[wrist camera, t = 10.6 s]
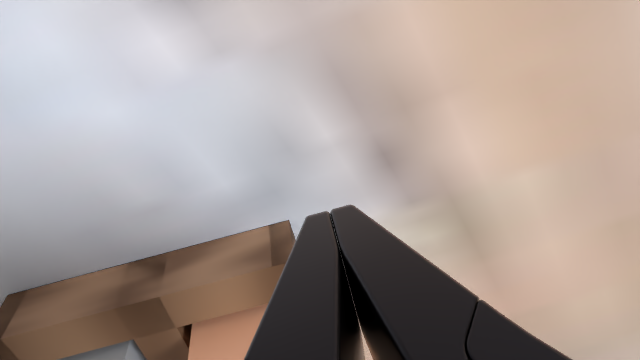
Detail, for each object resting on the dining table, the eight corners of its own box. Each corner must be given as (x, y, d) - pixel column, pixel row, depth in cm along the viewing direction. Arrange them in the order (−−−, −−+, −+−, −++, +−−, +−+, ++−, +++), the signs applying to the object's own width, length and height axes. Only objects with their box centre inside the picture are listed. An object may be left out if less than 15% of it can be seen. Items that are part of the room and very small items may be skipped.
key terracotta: (274, 287, 23) (279, 355, 20) (295, 341, 25) (303, 411, 22) (194, 309, 23) (185, 381, 20) (221, 361, 25) (217, 434, 22)
